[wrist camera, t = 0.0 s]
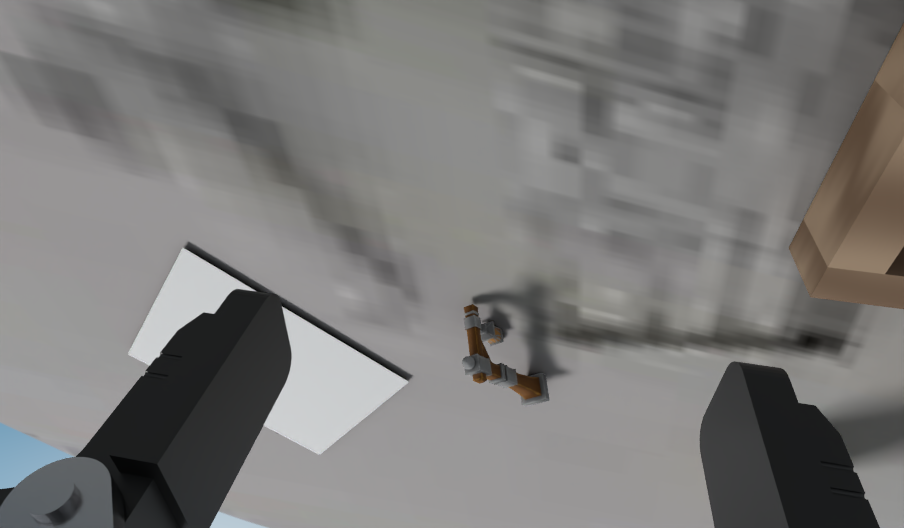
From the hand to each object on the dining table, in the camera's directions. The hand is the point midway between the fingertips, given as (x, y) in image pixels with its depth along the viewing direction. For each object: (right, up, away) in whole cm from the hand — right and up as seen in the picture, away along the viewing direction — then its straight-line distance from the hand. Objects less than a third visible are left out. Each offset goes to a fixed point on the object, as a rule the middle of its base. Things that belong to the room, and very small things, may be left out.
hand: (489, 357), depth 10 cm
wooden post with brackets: (+3, -3, +25) cm, 26 cm away
